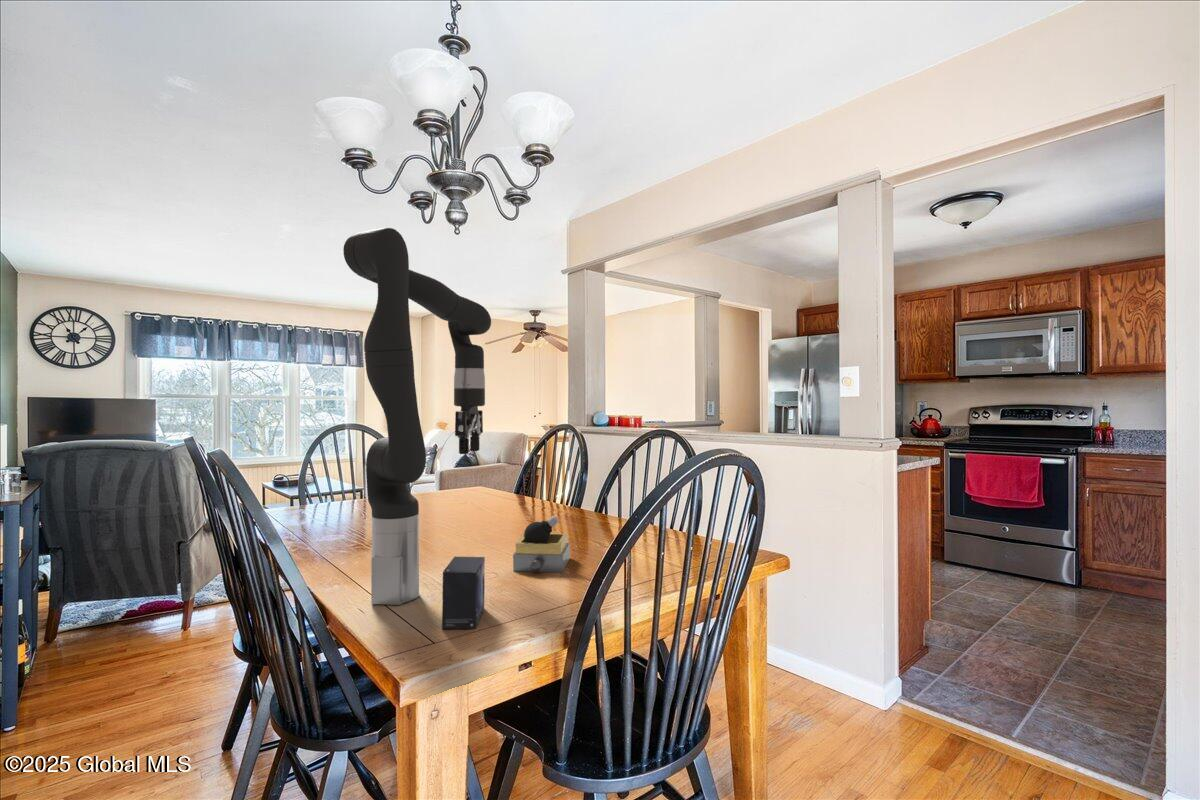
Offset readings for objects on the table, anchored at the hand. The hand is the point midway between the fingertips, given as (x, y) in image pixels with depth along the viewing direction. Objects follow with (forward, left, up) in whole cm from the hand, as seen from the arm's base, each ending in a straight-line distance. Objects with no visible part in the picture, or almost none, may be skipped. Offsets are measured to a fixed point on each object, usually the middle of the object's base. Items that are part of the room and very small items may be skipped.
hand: (469, 452), depth 143 cm
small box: (-34, -10, -28) cm, 45 cm away
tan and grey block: (+1, -18, -28) cm, 33 cm away
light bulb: (+2, -20, -21) cm, 29 cm away
